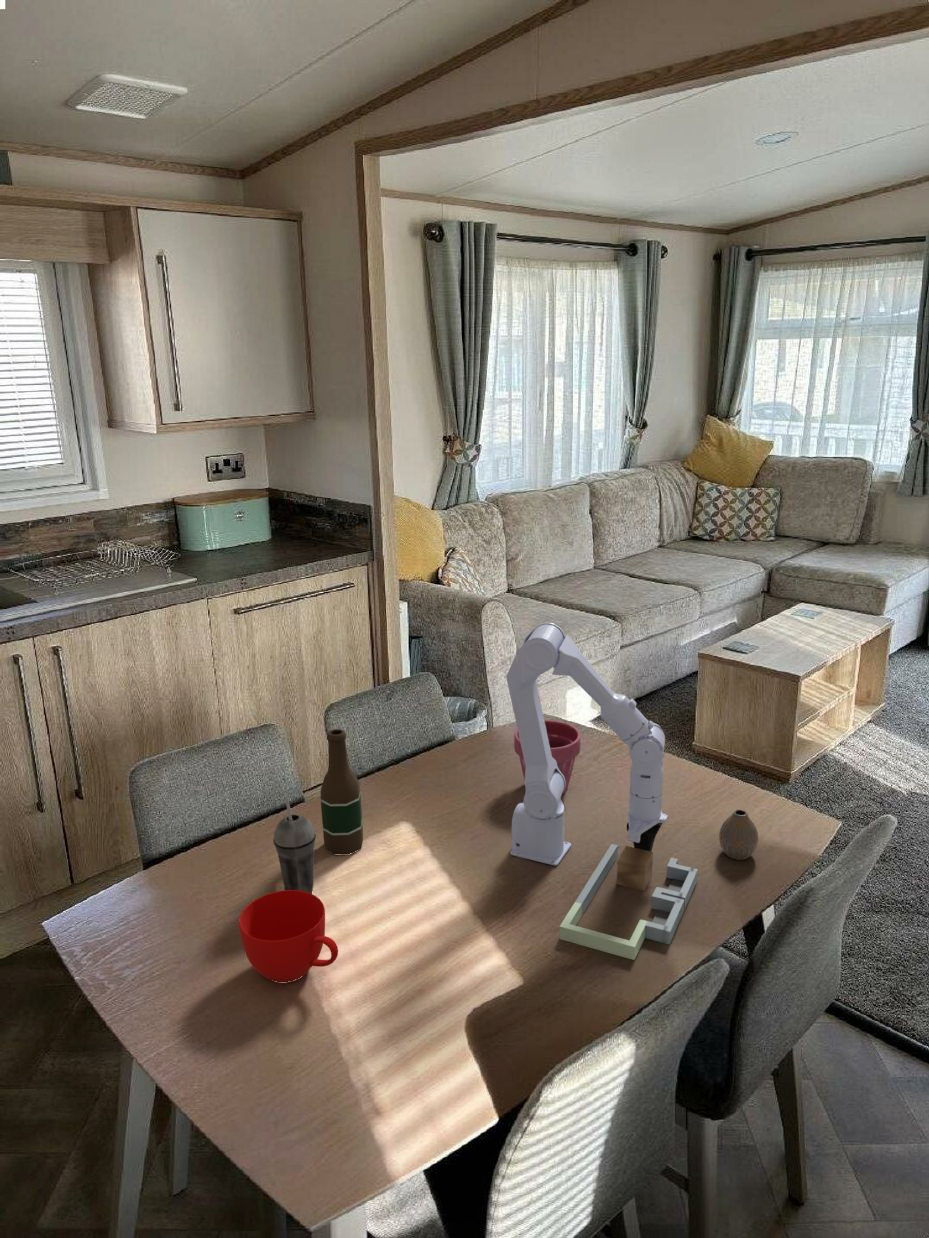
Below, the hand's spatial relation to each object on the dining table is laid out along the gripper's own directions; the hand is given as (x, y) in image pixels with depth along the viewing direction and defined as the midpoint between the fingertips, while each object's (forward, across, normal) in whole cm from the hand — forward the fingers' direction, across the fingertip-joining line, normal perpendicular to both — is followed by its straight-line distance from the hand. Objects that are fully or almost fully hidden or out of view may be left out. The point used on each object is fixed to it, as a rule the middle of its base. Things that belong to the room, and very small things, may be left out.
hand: (643, 857), depth 166 cm
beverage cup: (+2, -34, +52) cm, 62 cm away
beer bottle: (+2, -17, +54) cm, 57 cm away
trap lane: (+1, -13, -2) cm, 13 cm away
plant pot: (+2, +21, +27) cm, 34 cm away
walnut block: (+2, -5, 0) cm, 6 cm away
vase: (+2, +10, -15) cm, 18 cm away
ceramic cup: (+2, -51, +40) cm, 65 cm away
